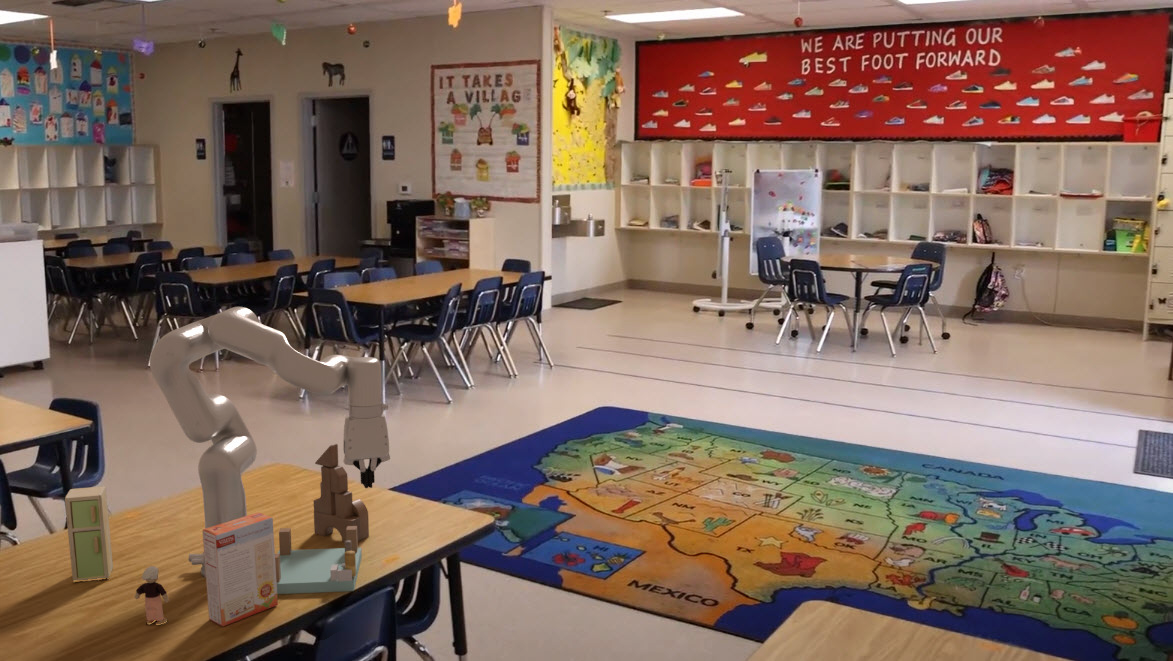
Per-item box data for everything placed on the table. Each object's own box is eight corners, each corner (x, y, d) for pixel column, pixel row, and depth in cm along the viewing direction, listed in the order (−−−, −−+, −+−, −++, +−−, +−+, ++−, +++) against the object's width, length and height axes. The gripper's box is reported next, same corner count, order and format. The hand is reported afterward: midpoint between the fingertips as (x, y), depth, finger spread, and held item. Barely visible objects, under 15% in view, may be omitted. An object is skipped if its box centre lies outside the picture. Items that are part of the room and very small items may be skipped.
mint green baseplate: (264, 594, 242) (262, 559, 240) (279, 560, 261) (277, 527, 260) (353, 590, 244) (352, 556, 242) (361, 557, 263) (360, 524, 262)
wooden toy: (370, 536, 277) (367, 444, 272) (352, 544, 271) (349, 450, 267) (328, 524, 285) (324, 435, 280) (309, 532, 280) (305, 441, 275)
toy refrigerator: (71, 584, 246) (63, 498, 242) (77, 572, 253) (70, 488, 249) (108, 581, 248) (101, 495, 244) (113, 569, 255) (106, 485, 251)
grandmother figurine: (175, 618, 229) (171, 563, 227) (169, 626, 226) (165, 570, 223) (139, 618, 229) (135, 563, 227) (132, 626, 225) (128, 570, 223)
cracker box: (263, 598, 240) (259, 510, 236) (278, 606, 236) (274, 516, 232) (206, 619, 229) (201, 527, 225) (222, 627, 225) (216, 534, 221)
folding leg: (343, 562, 252) (342, 540, 251) (353, 561, 253) (352, 539, 252) (345, 577, 244) (344, 555, 243) (356, 576, 245) (355, 554, 244)
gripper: (394, 404, 252) (396, 478, 255) (330, 409, 246) (333, 485, 250) (400, 411, 245) (402, 487, 248) (335, 417, 240) (338, 495, 243)
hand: (367, 486), depth 249 cm, fingers closed
